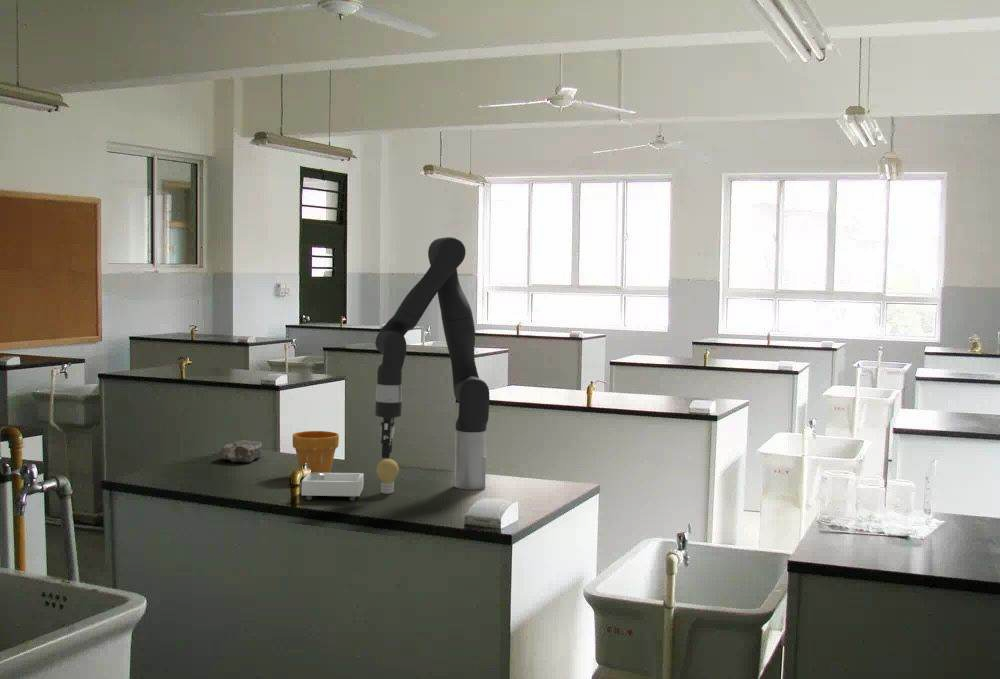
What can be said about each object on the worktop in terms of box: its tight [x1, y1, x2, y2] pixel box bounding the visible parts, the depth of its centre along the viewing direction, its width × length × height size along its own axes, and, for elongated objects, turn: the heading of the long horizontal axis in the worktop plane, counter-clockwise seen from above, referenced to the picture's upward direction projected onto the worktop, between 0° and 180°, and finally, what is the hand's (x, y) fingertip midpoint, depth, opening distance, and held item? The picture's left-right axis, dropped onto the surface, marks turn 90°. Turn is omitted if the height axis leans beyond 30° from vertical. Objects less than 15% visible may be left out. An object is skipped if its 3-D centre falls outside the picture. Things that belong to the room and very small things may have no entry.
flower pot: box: [292, 430, 340, 473], centre depth 312 cm, size 14×14×13 cm
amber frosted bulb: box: [376, 458, 400, 495], centre depth 290 cm, size 6×6×10 cm
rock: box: [219, 438, 264, 463], centre depth 335 cm, size 13×6×15 cm
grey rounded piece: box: [310, 472, 325, 481], centre depth 284 cm, size 4×4×4 cm
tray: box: [301, 472, 365, 502], centre depth 284 cm, size 16×12×6 cm
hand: (386, 455), depth 290 cm, fingers open, 8 cm apart
